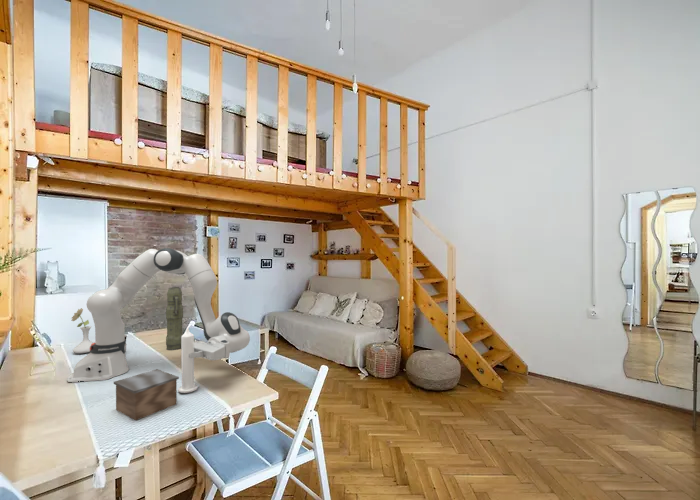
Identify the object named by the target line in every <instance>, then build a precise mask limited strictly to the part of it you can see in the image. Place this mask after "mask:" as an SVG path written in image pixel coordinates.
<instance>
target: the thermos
mask: <svg viewBox="0 0 700 500" xmlns="http://www.w3.org/2000/svg"><path fill="white" fill-rule="evenodd" d="M166 295H167V296H166V297H167V298H166V299H167V304H166V305H167V306H166V309H165V317H166V318H165V319H166V337H165V345H166V350H167V351H177V350H181V336H182V335H183V334H184V333H183V318H184V306H183V303H182V301H183V292H182V288H181V287H179V286H172V287H170V288H168V290H167V293H166Z"/></svg>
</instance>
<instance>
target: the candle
mask: <svg viewBox="0 0 700 500" xmlns="http://www.w3.org/2000/svg"><path fill="white" fill-rule="evenodd" d="M182 334H183V335H182V336H181V349H180V351H181V353H180V354H181V386H180V387H178V389H177V391H178V392H177V393H181V394H186V393H187V394H188V393H192V392H195V391H196V390H198V385H197V384H195V358H189V354H190V353H194V342H195V336H194V333H192V332H190V329H189V326H187V327H186V331H185V332H184V333H182Z"/></svg>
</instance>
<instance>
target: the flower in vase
mask: <svg viewBox="0 0 700 500" xmlns="http://www.w3.org/2000/svg"><path fill="white" fill-rule="evenodd" d="M83 311H84V309H83V308H78V309H77V311H76V312H74V313H73V315H72V317H71V318H70V319H71V321H72V322H75V321H77V319H79V318H80V320H81V322H80V323H78V324H77V326H76V327H77V328H79V327H80V328H79V329H80V330H81V332H82V335H83V338H82V341H81V342H80V343H79V344H78V345H76V346H75V347H74V348H73V349H72V352H73V353H74V354H89V353H91V352H90V346H91V344H92V343H94V342H92V341H91V340H90V339H89V334H90V333H89V332H90V329H91V328H92V326H91V325H90V326H88V325H89V324H90V321H89V319H87V320H85V321H84V320H83V318H82V316H81V315H82V314H83ZM82 325H83V326H82Z"/></svg>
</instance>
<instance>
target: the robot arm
mask: <svg viewBox="0 0 700 500" xmlns="http://www.w3.org/2000/svg"><path fill="white" fill-rule="evenodd" d="M159 271H160V272H161V271H162V272H166V273H168V274H176V275H186V276H187V278H188V280H189V283H190V285H191V288H192V291H193V295H194V296H193V298H194V303H195V306H196V309H197V312H198V315H199V318H200V321H201V323H202V327H203V336H204V338H205V339H206V340H207V342H206V341H200V340H199V341H194V353H190V354H189V358H194V359H196V358H202V359H205V360H209V361H218V360H222V359H228V358H230V353H231V354H232V353H233V354H234V353H236V352H239V351H241V350H243V349H245V348H247V347H248V346H249V343H250V340H251V339H250V338H251V336H250V333H249V331H248V330H246V329H245V328H243V326H242V325H241V324H240V322H239V318H238V316H237V315H236V314H234V313H232V312H223V313H222V314H221V315H219V316H218V317H217V318H216V316H215V313H214V310H213V307H212V304H211V303H212V301H211V300H212V297H213V294H214V292H215V291H216V289H217V286H218V285H217V284H218V281H217V276H216V274H215V272H214V270H213V268H212V267H211V265H210V264H209V262H208V260H207V259H206V258H205V257H204V256H203V255H202V254H200V253H194V254H190V255H188V254H187V253H184V252H182V251H181V250H177V249H174V248H169V247H167V248H166V247H165V248H159V250H158V249H155V248H149V249H147V250H146V251H144V252H142V253H141V254H139V255H138V256H137V257H136V258H134V259H133V260H132V261H131V262H130V263H129V264H128V265H127V266H125V268H124V269H123V270H122V271H121V272H120V273H119V274H118V275H117V277H116V279H115V280H114V281H113V283H112V284H111V285H110V286H109V287H107V288H105V289H101V290H98V291H96V292H94V293H92V295H91V296H89V297H88V298H87V300H86V308H87V310H88V311H89V312H90V313H91V316H92V320H93V323H94V330H95V331H94V332H95V335H94V336H95V342H93V343H92V344H91V346H90V352H88V353H87V354H86V355H85V356H84V357H83V358H81V359H80V360H79V361H78V362H76V364H75V365H74V369H73V372H72V373H71V374H70V375H68V376H67V378H66V382H67V381H68V382H72V383H81V382H80V381H84V382H94V381H104V380H105V381H106V380H109V379H111V378H114V377H117V376H121V375H123V374H125V373H127V372H129V370H130V368H129V366H128V362H127V357H126V352H127V339H126V340H125V335H126V334H125V330H126V328H125V325H126V324H125V322H124V321H123V319H122V315H121V310H122V309H123V308H125V307H126V306H127V305H128V304H129V303H130V302H131V301H132V300H133V299H134V297H135V296H136V294H137V293H138V292H139V291H140V290H141V289H142V288H143V287H144V286H145V285H146V284H147V283H148V282H149V281H150V280H151V279H152V278H153V277H154V276H155V275H156V274H157V273H158V272H159ZM78 381H79V382H78ZM68 382H67V383H68Z"/></svg>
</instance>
